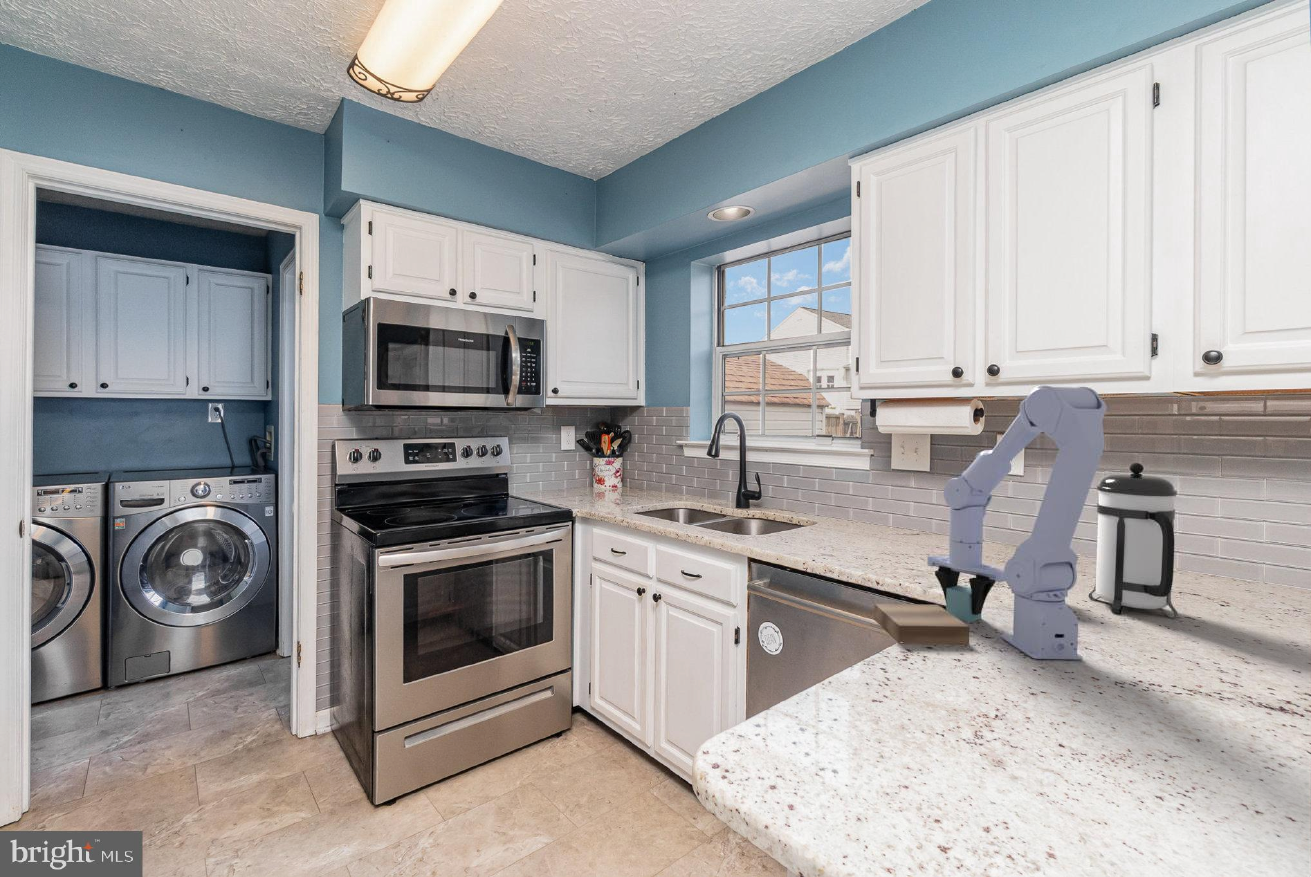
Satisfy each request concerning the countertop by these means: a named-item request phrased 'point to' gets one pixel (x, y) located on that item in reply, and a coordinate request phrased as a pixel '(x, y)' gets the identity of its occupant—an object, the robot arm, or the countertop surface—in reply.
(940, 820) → the countertop surface
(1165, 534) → the coffee press
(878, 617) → the walnut box
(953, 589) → the teal block
